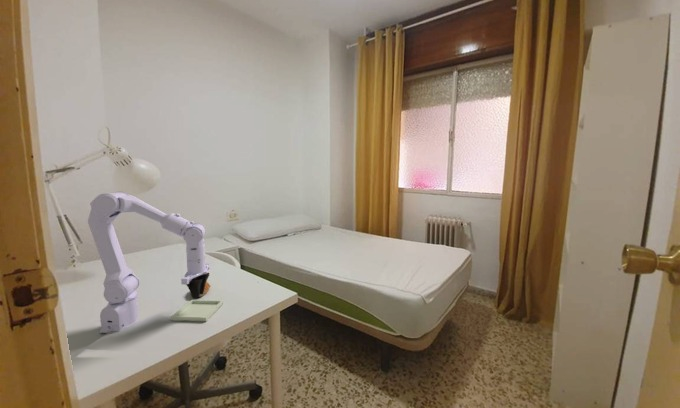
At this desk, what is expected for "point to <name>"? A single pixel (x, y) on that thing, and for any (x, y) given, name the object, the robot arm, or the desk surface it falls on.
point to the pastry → (205, 289)
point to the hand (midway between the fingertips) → (198, 295)
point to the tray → (197, 310)
